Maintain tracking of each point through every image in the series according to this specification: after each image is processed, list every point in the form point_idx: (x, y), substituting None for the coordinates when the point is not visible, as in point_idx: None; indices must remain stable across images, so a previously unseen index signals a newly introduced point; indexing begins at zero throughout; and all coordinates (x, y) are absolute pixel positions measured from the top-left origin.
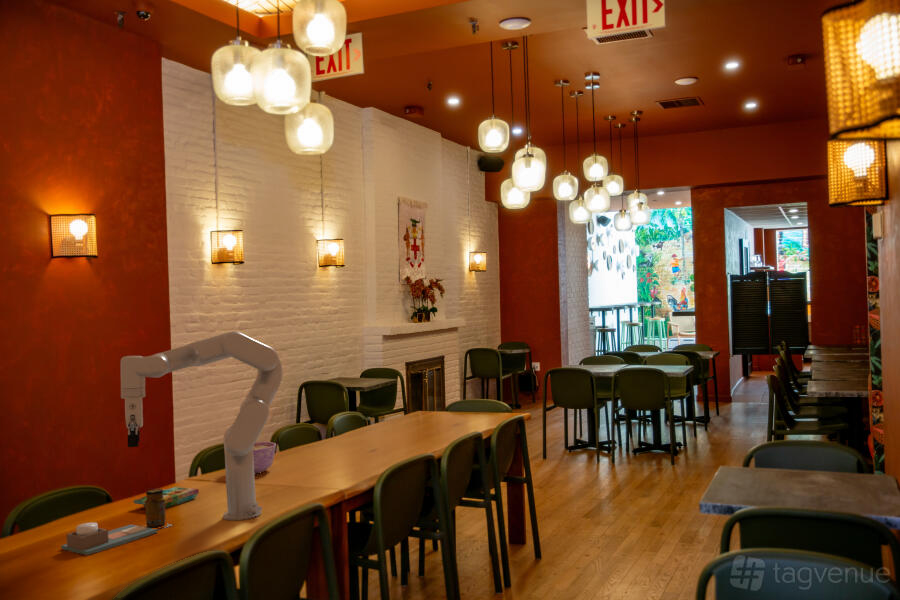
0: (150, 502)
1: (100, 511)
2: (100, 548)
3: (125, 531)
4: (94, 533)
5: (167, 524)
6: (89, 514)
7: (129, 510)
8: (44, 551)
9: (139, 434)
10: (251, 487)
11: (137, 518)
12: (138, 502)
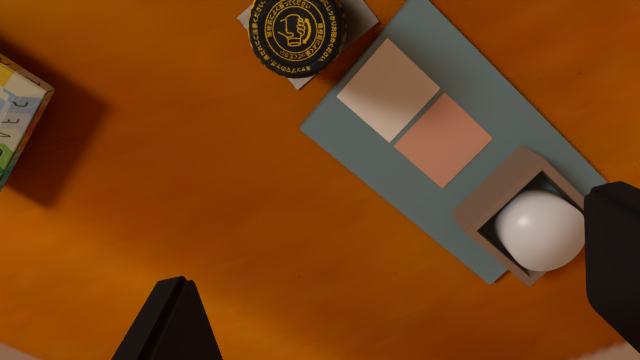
0: (344, 40)
1: (28, 308)
2: (576, 151)
3: (405, 120)
4: (572, 193)
5: None
6: (66, 331)
7: (25, 207)
8: (482, 317)
9: (134, 344)
10: None
11: (159, 139)
12: (3, 182)
